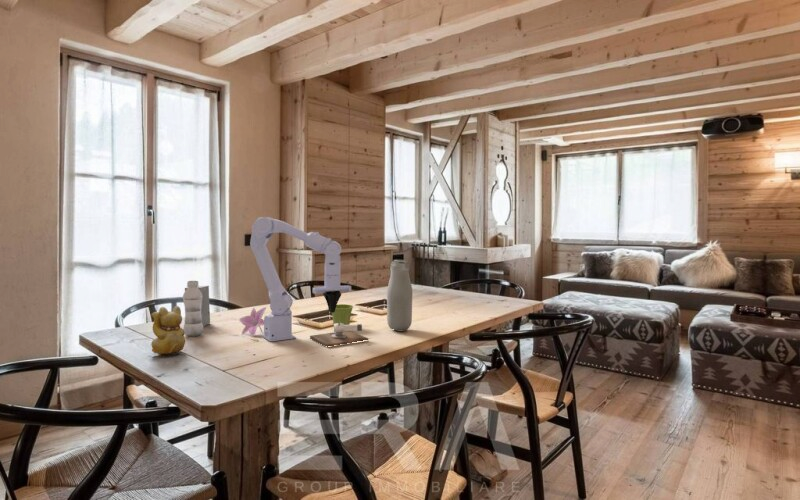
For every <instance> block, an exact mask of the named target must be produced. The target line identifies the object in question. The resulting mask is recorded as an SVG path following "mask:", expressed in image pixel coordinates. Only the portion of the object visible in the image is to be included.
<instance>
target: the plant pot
mask: <svg viewBox="0 0 800 500" xmlns="http://www.w3.org/2000/svg"><path fill="white" fill-rule="evenodd" d="M353 308H354V305H352V304H342V303H340V304H338V303H337V305H336V309H335V312H333V313H331V316H332V317H331V318H332V323H333V326H334V324H336V323H343V324H344V325H351V323H350V322H351V317H352V311H353Z"/></svg>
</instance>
